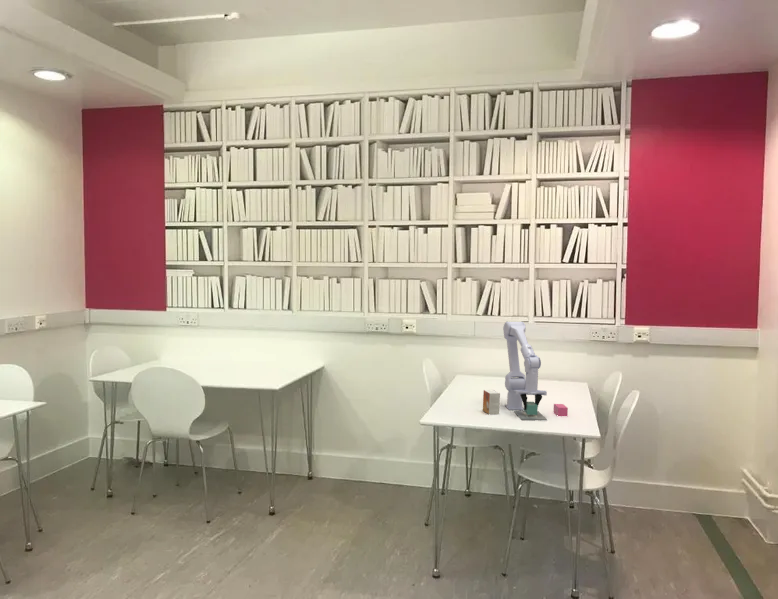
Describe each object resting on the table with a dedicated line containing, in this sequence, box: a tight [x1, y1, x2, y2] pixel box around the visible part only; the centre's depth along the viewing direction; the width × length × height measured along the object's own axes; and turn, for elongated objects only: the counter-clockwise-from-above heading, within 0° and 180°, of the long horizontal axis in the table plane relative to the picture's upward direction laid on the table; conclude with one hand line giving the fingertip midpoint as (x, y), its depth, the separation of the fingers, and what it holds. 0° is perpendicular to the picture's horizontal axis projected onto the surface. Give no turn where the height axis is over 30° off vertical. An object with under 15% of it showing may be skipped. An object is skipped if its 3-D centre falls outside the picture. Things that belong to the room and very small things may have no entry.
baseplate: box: [513, 410, 548, 421], centre depth 302 cm, size 16×12×1 cm
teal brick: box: [523, 401, 539, 415], centre depth 301 cm, size 8×5×4 cm, turn 1°
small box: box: [482, 389, 501, 415], centre depth 307 cm, size 8×6×10 cm
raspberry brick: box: [552, 403, 569, 417], centre depth 307 cm, size 8×5×4 cm, turn 1°
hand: (530, 409), depth 302 cm, fingers closed on teal brick, 4 cm apart
